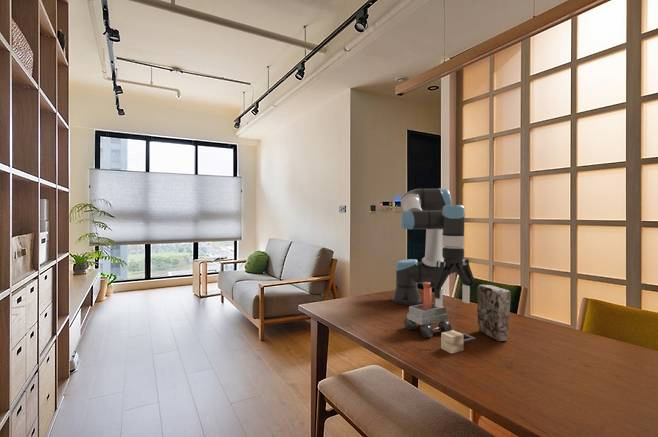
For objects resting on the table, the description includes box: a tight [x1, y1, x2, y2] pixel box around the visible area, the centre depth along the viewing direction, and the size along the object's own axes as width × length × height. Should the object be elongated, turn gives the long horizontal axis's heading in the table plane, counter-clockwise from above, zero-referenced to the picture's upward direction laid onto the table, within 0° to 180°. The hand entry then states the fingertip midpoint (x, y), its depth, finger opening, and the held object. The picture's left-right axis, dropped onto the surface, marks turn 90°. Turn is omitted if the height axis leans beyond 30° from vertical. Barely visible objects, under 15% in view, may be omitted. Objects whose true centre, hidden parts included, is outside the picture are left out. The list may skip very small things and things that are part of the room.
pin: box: [422, 282, 433, 310], centre depth 144 cm, size 4×4×13 cm
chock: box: [440, 329, 465, 354], centre depth 125 cm, size 6×5×6 cm
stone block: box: [476, 284, 512, 342], centre depth 138 cm, size 13×7×20 cm, turn 19°
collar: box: [460, 332, 477, 344], centre depth 135 cm, size 6×6×1 cm
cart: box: [403, 302, 452, 339], centre depth 144 cm, size 14×15×10 cm
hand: (452, 304), depth 124 cm, fingers open, 13 cm apart
